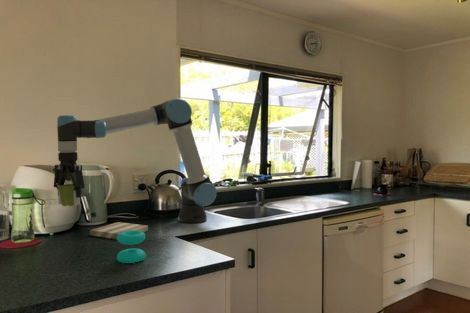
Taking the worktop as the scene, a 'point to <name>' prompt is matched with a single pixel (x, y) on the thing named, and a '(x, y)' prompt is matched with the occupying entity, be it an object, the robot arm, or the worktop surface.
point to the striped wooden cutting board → (116, 229)
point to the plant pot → (66, 194)
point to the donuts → (132, 253)
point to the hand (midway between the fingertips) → (69, 204)
